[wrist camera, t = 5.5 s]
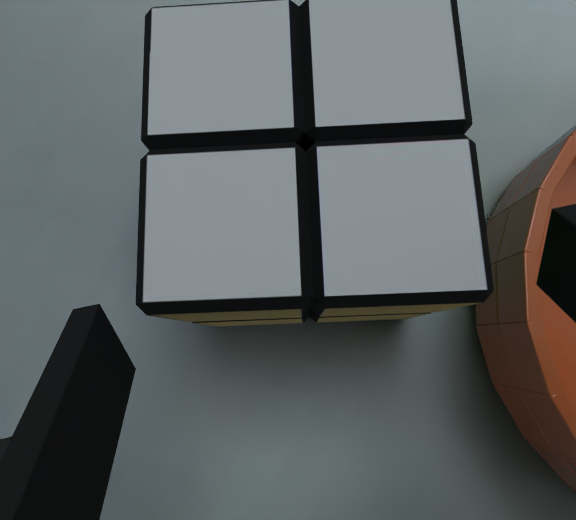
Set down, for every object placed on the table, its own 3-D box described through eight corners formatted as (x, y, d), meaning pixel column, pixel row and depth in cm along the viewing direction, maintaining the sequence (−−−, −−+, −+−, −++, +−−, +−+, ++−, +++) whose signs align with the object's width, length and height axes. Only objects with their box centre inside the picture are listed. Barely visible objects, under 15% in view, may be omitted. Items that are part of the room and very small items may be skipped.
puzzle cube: (210, 144, 23) (140, -1, 13) (392, 134, 23) (458, -21, 13) (210, 327, 21) (130, 316, 11) (409, 319, 21) (503, 300, 11)
